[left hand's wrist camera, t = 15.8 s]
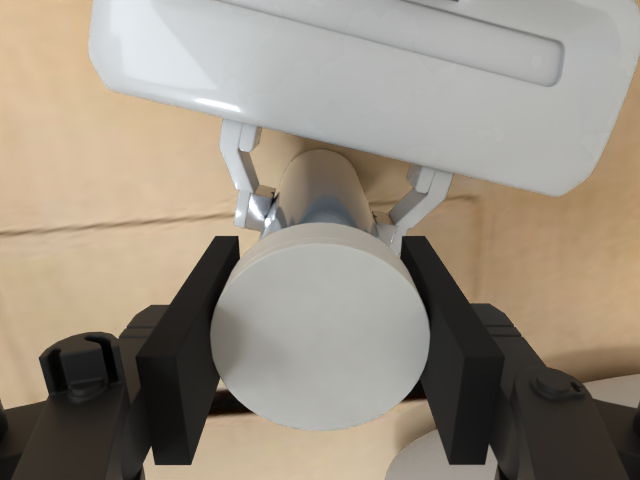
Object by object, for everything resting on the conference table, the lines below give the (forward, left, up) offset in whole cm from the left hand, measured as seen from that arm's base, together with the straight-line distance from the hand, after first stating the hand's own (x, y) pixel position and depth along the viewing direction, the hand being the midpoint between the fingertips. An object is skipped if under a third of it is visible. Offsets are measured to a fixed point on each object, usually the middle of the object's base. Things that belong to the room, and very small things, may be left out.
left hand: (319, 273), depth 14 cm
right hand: (-1, 0, -6) cm, 6 cm away
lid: (0, 0, +4) cm, 4 cm away
